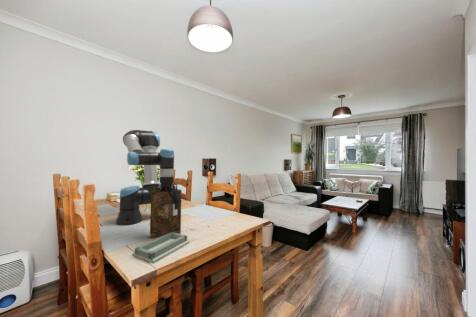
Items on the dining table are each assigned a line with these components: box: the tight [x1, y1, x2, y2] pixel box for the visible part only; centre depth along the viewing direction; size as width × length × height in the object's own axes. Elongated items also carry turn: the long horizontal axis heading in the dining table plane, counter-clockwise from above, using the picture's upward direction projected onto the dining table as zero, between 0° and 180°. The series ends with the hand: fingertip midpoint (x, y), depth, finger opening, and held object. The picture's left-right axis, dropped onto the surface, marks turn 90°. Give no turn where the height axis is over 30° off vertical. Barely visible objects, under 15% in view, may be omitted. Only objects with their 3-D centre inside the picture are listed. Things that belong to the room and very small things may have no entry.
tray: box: [131, 232, 190, 264], centre depth 95 cm, size 14×22×3 cm, turn 153°
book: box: [149, 188, 182, 239], centre depth 112 cm, size 16×6×25 cm, turn 114°
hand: (166, 213), depth 112 cm, fingers open, 13 cm apart
